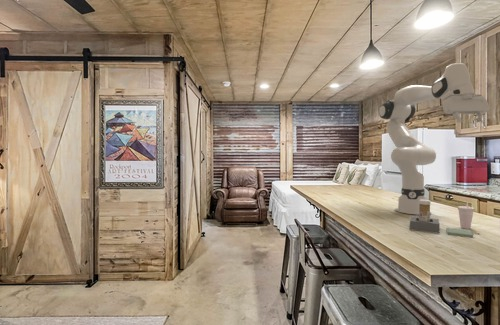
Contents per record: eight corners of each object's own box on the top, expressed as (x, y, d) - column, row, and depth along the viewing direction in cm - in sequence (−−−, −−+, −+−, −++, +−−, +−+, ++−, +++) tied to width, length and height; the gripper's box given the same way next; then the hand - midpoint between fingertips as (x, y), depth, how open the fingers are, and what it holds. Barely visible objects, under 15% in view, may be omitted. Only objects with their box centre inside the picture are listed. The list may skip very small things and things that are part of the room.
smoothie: (477, 229, 132) (477, 199, 131) (461, 229, 133) (462, 199, 132) (469, 226, 138) (470, 197, 137) (454, 225, 139) (455, 197, 139)
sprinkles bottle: (416, 227, 135) (417, 199, 135) (422, 226, 138) (422, 198, 137) (426, 230, 131) (426, 201, 131) (432, 228, 134) (432, 200, 133)
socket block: (410, 224, 142) (411, 216, 142) (438, 227, 136) (438, 218, 136) (409, 229, 133) (410, 221, 132) (439, 233, 127) (439, 224, 127)
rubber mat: (445, 229, 132) (445, 227, 132) (470, 232, 128) (470, 230, 127) (447, 234, 125) (447, 232, 124) (473, 237, 120) (473, 235, 120)
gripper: (477, 97, 138) (485, 124, 134) (437, 97, 136) (444, 124, 132) (489, 91, 132) (497, 118, 128) (447, 91, 130) (454, 119, 126)
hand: (469, 121), depth 130 cm, fingers open, 8 cm apart
